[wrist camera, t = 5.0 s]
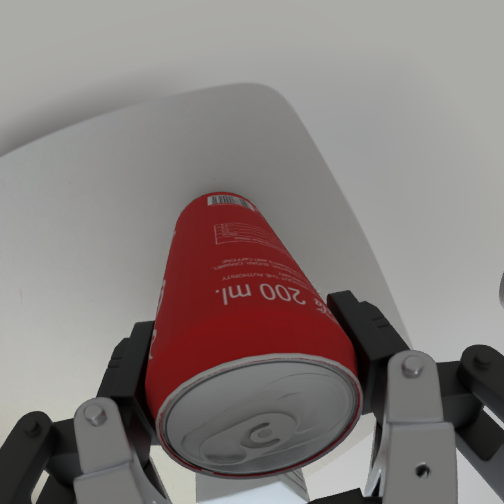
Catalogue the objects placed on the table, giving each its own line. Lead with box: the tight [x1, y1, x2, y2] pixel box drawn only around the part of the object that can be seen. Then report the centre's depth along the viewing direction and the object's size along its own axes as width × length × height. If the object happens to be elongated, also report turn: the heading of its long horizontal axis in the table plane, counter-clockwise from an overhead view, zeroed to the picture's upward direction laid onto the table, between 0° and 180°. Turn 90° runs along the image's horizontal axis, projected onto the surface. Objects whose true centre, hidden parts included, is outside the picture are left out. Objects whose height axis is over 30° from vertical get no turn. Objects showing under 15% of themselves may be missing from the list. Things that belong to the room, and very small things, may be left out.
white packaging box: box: [196, 468, 310, 504], centre depth 25 cm, size 7×7×13 cm
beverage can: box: [145, 192, 363, 480], centre depth 13 cm, size 6×6×15 cm
